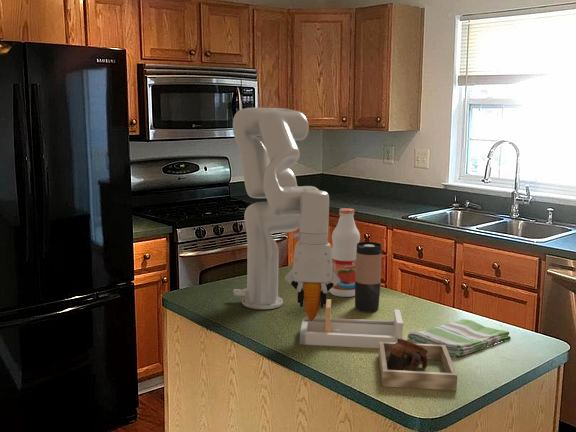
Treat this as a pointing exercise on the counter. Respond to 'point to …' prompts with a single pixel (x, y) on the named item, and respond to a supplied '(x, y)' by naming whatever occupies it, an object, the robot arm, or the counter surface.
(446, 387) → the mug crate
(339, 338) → the frame
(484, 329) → the dish towel
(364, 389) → the counter surface
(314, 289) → the carrot
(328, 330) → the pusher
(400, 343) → the pottery mug
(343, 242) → the fruit juice
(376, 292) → the travel mug
